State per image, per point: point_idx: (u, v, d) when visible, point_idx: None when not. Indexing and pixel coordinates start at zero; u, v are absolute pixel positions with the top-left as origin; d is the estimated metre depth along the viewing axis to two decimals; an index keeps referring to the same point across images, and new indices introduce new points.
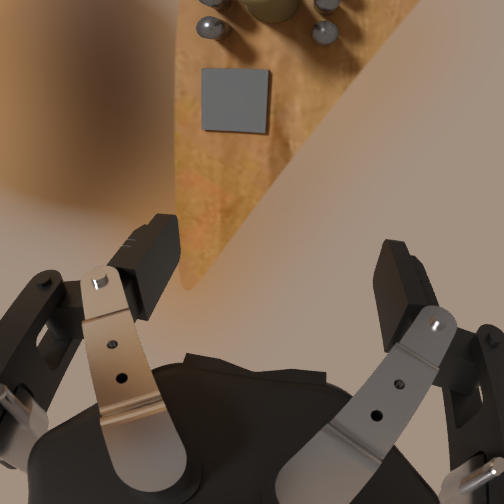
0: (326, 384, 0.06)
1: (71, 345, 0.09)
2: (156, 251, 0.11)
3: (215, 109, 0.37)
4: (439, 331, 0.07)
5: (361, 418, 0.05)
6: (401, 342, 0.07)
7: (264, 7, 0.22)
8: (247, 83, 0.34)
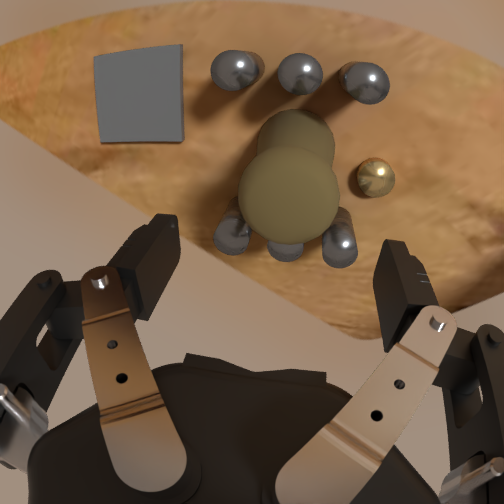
0: (326, 384, 0.06)
1: (71, 345, 0.09)
2: (156, 251, 0.11)
3: (120, 71, 0.21)
4: (439, 331, 0.07)
5: (361, 418, 0.05)
6: (401, 342, 0.07)
7: None
8: (159, 113, 0.23)
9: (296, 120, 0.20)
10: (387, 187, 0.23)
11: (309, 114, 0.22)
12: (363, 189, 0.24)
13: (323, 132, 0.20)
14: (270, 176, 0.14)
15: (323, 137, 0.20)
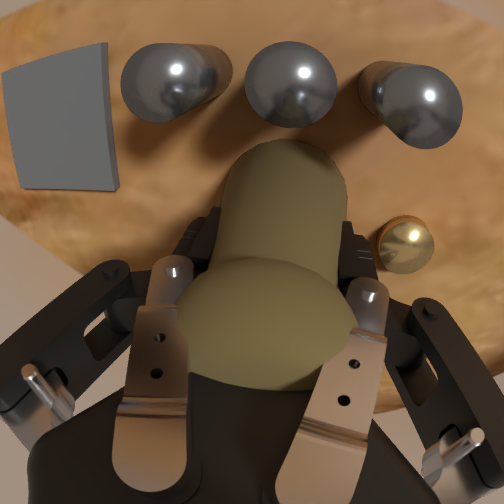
0: None
1: (125, 340, 0.09)
2: None
3: (30, 90, 0.13)
4: (367, 300, 0.08)
5: (361, 418, 0.05)
6: None
7: None
8: (80, 150, 0.15)
9: (284, 166, 0.12)
10: (421, 260, 0.15)
11: (307, 150, 0.13)
12: (386, 264, 0.16)
13: (331, 187, 0.12)
14: (211, 363, 0.06)
15: (332, 200, 0.12)
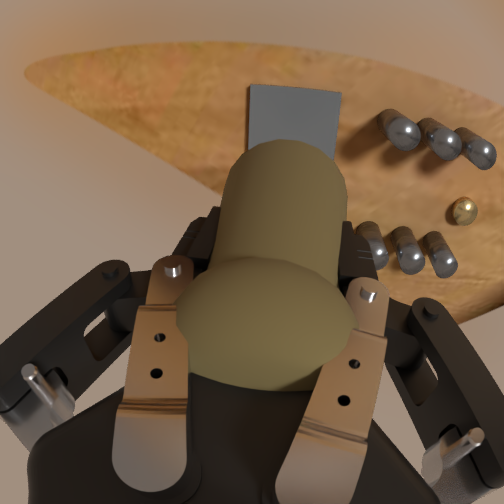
0: None
1: (125, 340, 0.09)
2: None
3: (280, 105, 0.26)
4: (367, 300, 0.08)
5: (361, 418, 0.05)
6: None
7: None
8: None
9: (284, 166, 0.12)
10: (471, 218, 0.29)
11: (307, 149, 0.13)
12: (456, 220, 0.29)
13: (331, 186, 0.12)
14: (211, 363, 0.06)
15: (332, 199, 0.12)
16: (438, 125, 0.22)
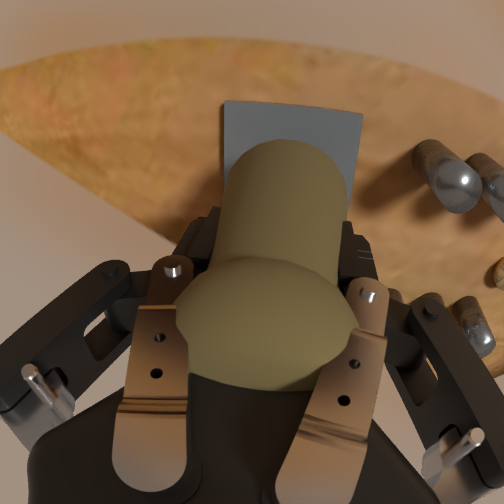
0: None
1: (125, 340, 0.09)
2: None
3: (270, 132, 0.18)
4: (367, 300, 0.08)
5: (361, 418, 0.05)
6: None
7: None
8: None
9: (284, 166, 0.12)
10: None
11: (307, 149, 0.13)
12: (498, 284, 0.21)
13: (331, 186, 0.12)
14: (211, 364, 0.06)
15: (332, 199, 0.11)
16: (500, 170, 0.14)
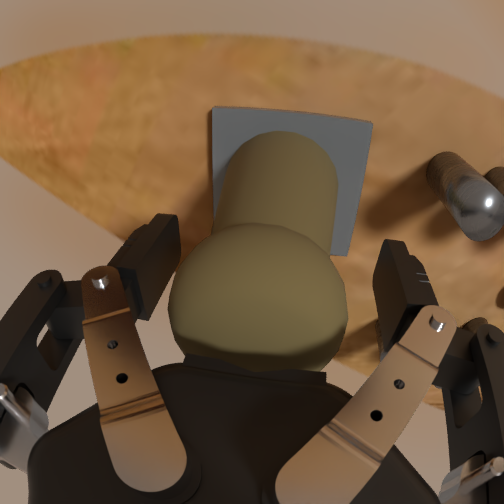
0: (326, 384, 0.06)
1: (71, 345, 0.09)
2: (157, 251, 0.11)
3: None
4: (439, 331, 0.07)
5: (361, 418, 0.05)
6: (401, 342, 0.07)
7: None
8: None
9: (281, 153, 0.13)
10: None
11: (302, 140, 0.15)
12: None
13: (323, 172, 0.13)
14: (216, 306, 0.07)
15: (323, 183, 0.13)
16: None
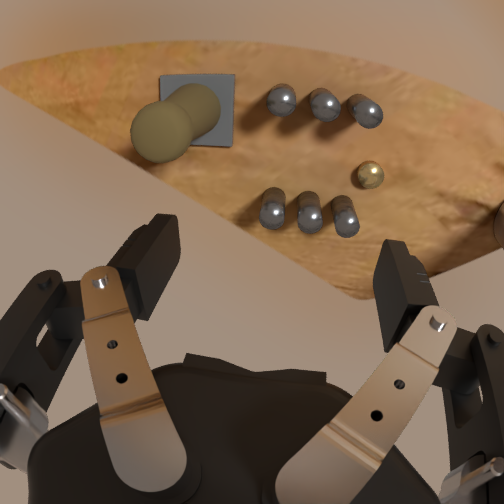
0: (326, 384, 0.06)
1: (71, 345, 0.09)
2: (156, 251, 0.11)
3: None
4: (439, 331, 0.07)
5: (361, 418, 0.05)
6: (401, 342, 0.07)
7: None
8: None
9: (185, 89, 0.28)
10: (378, 181, 0.33)
11: (199, 85, 0.29)
12: (362, 183, 0.34)
13: (204, 96, 0.28)
14: (143, 118, 0.22)
15: (201, 99, 0.28)
16: (320, 92, 0.27)
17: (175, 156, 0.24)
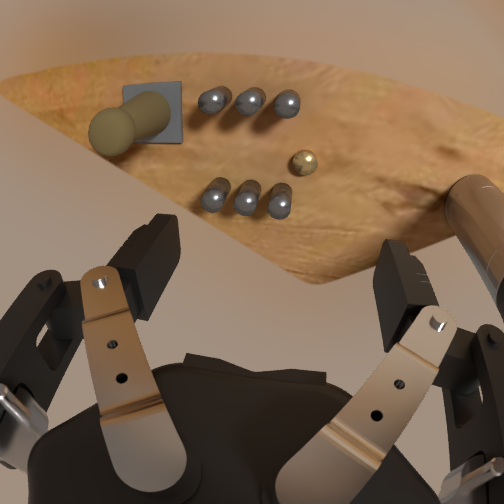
0: (326, 384, 0.06)
1: (71, 345, 0.09)
2: (157, 251, 0.11)
3: None
4: (439, 331, 0.07)
5: (361, 418, 0.05)
6: (401, 342, 0.07)
7: None
8: (167, 125, 0.37)
9: (138, 96, 0.33)
10: (312, 168, 0.38)
11: (152, 92, 0.34)
12: (296, 170, 0.38)
13: (153, 101, 0.33)
14: (95, 121, 0.27)
15: (149, 104, 0.33)
16: (246, 90, 0.31)
17: (120, 150, 0.29)
